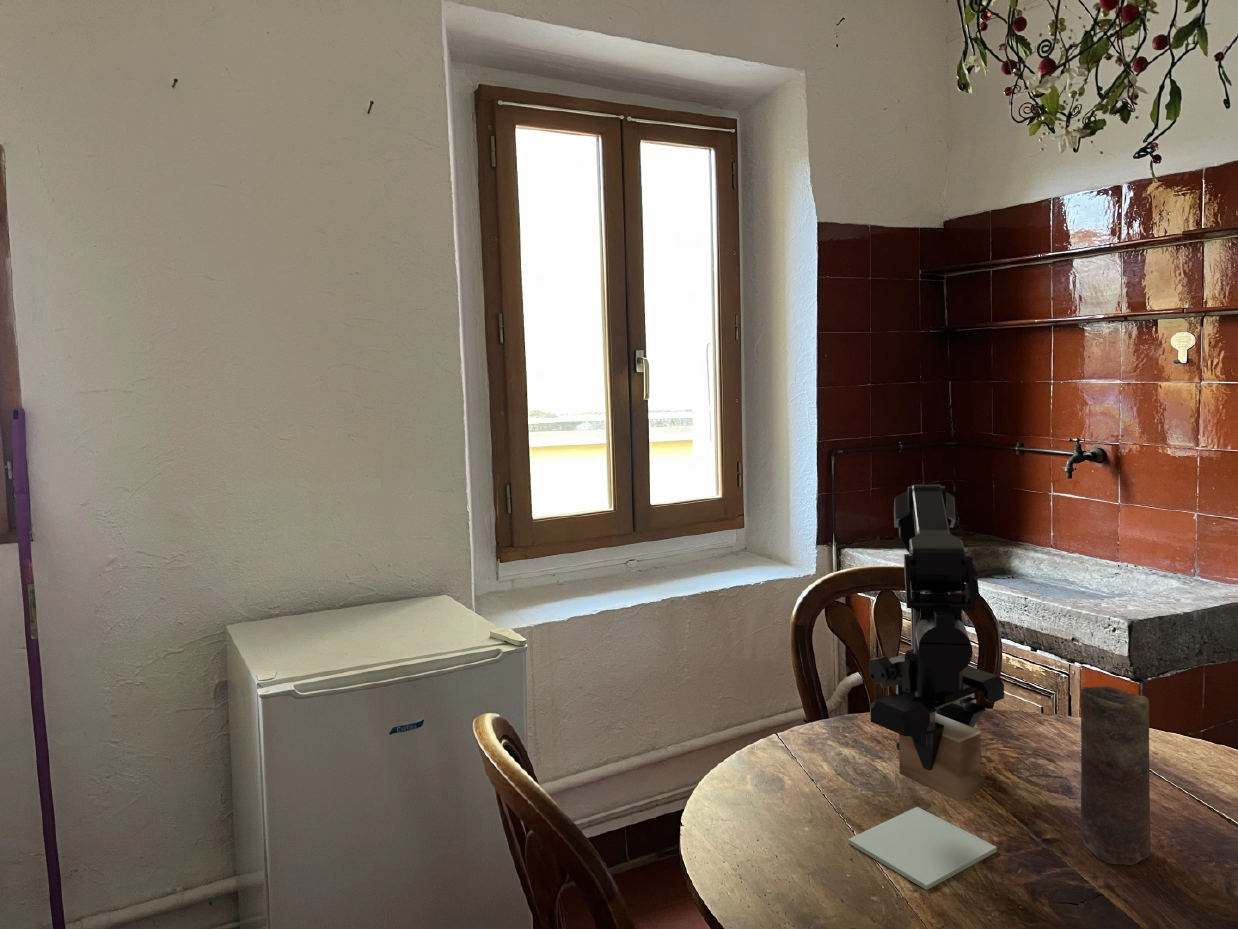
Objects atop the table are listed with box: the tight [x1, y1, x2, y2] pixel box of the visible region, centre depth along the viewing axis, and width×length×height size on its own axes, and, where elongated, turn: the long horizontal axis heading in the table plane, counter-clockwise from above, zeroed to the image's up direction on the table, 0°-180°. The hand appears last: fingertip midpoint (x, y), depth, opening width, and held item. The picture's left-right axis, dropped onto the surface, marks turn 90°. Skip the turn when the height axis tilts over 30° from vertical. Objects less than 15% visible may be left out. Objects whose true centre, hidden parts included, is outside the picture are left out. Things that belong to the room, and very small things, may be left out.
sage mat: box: [847, 806, 998, 891], centre depth 107 cm, size 13×12×1 cm
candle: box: [1080, 685, 1151, 866], centre depth 104 cm, size 8×7×20 cm
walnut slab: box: [898, 713, 981, 803], centre depth 108 cm, size 4×9×8 cm, turn 32°
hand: (938, 764), depth 108 cm, fingers closed on walnut slab, 4 cm apart
